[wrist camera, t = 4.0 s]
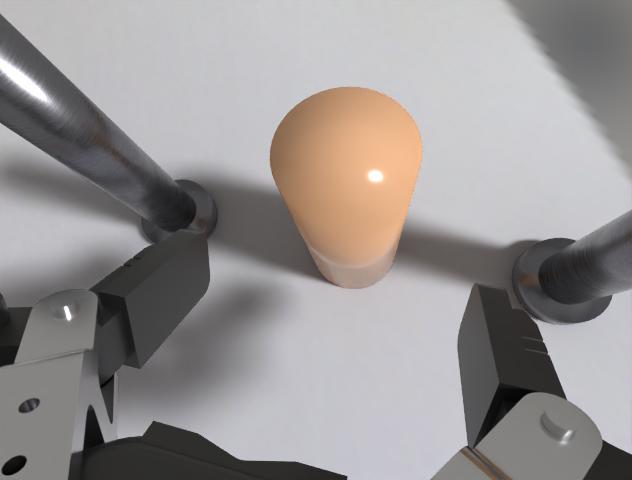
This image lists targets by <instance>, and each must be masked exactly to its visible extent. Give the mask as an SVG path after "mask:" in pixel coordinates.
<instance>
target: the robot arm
mask: <svg viewBox="0 0 632 480" xmlns="http://www.w3.org/2000/svg"><path fill="white" fill-rule="evenodd" d="M209 282H210V268H209V256H208V243H207V237H206V235H205V234H204V233H200V232H195V231H189V230H183V229H179V230H177V231H176V232H175V233H173V234H172V235H171V236H169V237H168V238H167V239H166V240H164V241H161V242H159V243H156V244H154V245H151V246H149V247H146V248H144V249H143V250H142V251H140V252H139V253H138V254H136V255H135V256H134V257H133V259H132V258H131V259H130V260H128V261H127V262H126V263H124V266H120V267H119V268H118V269H116V270H115V271H114V272H112V273H111V274H110V275H108V276H107V277H106V278H104V279H103V280H102V281H100V282H99V283H97V284H96V285H95V286H93V287H92V288H91V289H89V290H84V289H72V290H66V291H61V292H58V293H55V294H52V295H50V296H48V297H46V298H44V299H42V300H41V301H40V302H38V303H37V304H36V305H35V306H34V307H21V308H7V306H6V304H5V301H4V299H3V296H2V294H1V293H0V480H347V477H348V476H344V475H341V474H337V473H334V472H330V471H327V470H323V469H320V468H316V467H313V466H309V465H306V464H302V463H299V462H285V461H244V460H239V459H237V458H235V457H234V456H232V455H230V454H229V453H227V452H226V451H224V450H223V449H221V448H220V447H218V446H216V445H215V444H213V443H212V442H210V441H209V440H207V439H205V438H204V437H202V436H201V435H199V434H198V433H194V432H191V431H187V430H184V429H180V428H177V427H173V426H170V425H166V424H163V423H159V422H156V421H153V422H152V424H151V425H150V426H149V428H148V429H147V431H146V432H145V433H144V435H143V436H137V437H127V438H122V439H117V411H118V375H117V372H116V371H117V370H118V369H119V368H120V367H121V366H122V365H127V366H131V367H135V368H138V369H140V368H141V367H142V366H143V365H144V364H145V363H146V361H147V360H148V359H149V358H150V357H151V356H152V354H153V353H154V352H155V351H156V350H157V349H158V348H159V346H160V345H161V344H162V343H163V342H164V341H165V339H166V338H167V337H168V336H169V335H170V334H171V332H172V331H173V330H174V329H175V328H176V327H177V326H178V324H179V323H180V322H181V321H182V320H183V319H184V317H185V316H186V315H187V314H188V313H189V312H190V311H191V309H192V308H193V307H194V306H195V305H196V304H197V302H198V301H199V300H200V299H201V298H202V297H203V295H204V294H205V293H206V291H207V289H208V286H209ZM458 358H459V367H460V376H461V385H462V395H463V404H464V413H465V422H466V432H467V441H468V446H465V447H463V448H462V449H461V450H459V451H458V452H457V453H456V454H455V455H454V456H453V457H452V458H451V459H450V460H449V461H448V462H447V463H446V464H445V465H444V466H443V467H442V468H441V469H440V470H439V471H438V472H437V473H436V474H435V475H434V476H433V477H432V478H431V479H430V480H632V455H631V454H629V453H627V452H625V451H623V450H621V449H619V448H617V447H615V446H613V445H611V444H609V443H607V442H606V441H604V440H602V437H601V434H600V432H599V430H598V428H597V426H596V425H595V423H594V422H593V421H592V420H591V418H590V417H589V416H588V415H587V414H586V413H584V412H583V411H582V410H581V409H580V408H578V407H577V406H575V405H574V404H572V403H571V402H569V401H567V399H566V396H565V394H564V391H563V389H562V386H561V384H560V381H559V379H558V376H557V374H556V371H555V369H554V366H553V364H552V361H551V358H550V356H549V355H548V351H547V348H546V346H545V343H543V338H542V336H541V333H540V331H539V328H538V326H537V324H536V323H535V322H534V321H533V320H532V319H531V318H530V317H529V316H528V315H527V314H526V313H525V311H524V310H518V309H513V308H512V307H511V304H510V301H509V298H508V294H507V291H506V289H505V288H501V287H495V286H490V285H484V284H478V283H475V284H474V286H473V288H472V290H471V293H470V297H469V300H468V303H467V306H466V309H465V313H464V316H463V319H462V322H461V326H460V329H459V335H458Z"/></svg>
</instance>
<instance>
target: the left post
mask: <svg viewBox="0 0 632 480" xmlns="http://www.w3.org/2000/svg"><path fill="white" fill-rule="evenodd" d="M0 123H1V124H3V125H4V126H6V127H7V128H9V129H11V130H12V131H14V132H15V133H17V134H18V135H20V136H21V137H23V138H24V139H26V140H27V141H29V142H30V143H32V144H33V145H35V146H36V147H38V148H39V149H41V150H42V151H44V152H45V153H47V154H48V155H50V156H51V157H53V158H54V159H56V160H58V161H59V162H61V163H62V164H64V165H65V166H67V167H68V168H70V169H71V170H73V171H74V172H76V173H77V174H79V175H80V176H82V177H83V178H85V179H86V180H88V181H89V182H91V183H92V184H94V185H95V186H97V187H98V188H100V189H101V190H103V191H105V192H106V193H108V194H109V195H111V196H112V197H114V198H115V199H117V200H118V201H120V202H121V203H123V204H124V205H126V206H127V207H129V208H130V209H132V210H133V211H135V212H136V213H138V214H139V215H141V216H142V226H143V229H144V231H145V233H146V235H147V236H148V237H149V238H150V239H151V240H152V241H153V242H155V243H159V242H161V241H164V240H166V239H167V238H168V237H169V236H171V235H172V234H173V233H175V232H176V231H177V230H179V229H183V230H189V231H195V232H200V233H204V234H205V235H206V237H207V238H208V237H209V236H210V234H211V233H212V231H213V229H214V227H215V224H216V220H217V209H216V205H215V203H214V201H213V199H212V198H211V196H210V195H209V194H208V193H207V192H206V191H205V190H204V189H203V188H202V187H201V186H200V185H198V184H197V183H195V182H192V181H189V180H173V179H172V178H171V177H170V176H169V175H168V174H167V173H166V172H165V171H164V170H163V169H162V168H161V167H160V166H159V165H158V164H156V163H155V162H154V161H153V160H152V159H151V158H150V157H149V156H148V155H147V154H146V153H145V152H144V151H143V150H142V149H141V148H140V147H139V146H138V145H137V144H136V143H135V142H134V141H132V140H131V139H130V138H129V137H128V136H127V135H126V134H125V133H124V132H123V131H122V130H121V129H120V128H119V127H118V126H117V125H116V124H115V123H114V122H113V121H112V120H111V119H110V118H108V117H107V116H106V115H105V114H104V113H103V112H102V111H101V110H100V109H99V108H98V107H97V106H96V105H95V104H94V103H93V102H92V101H91V100H90V99H89V98H88V97H87V96H85V95H84V94H83V93H82V92H81V91H80V90H79V89H78V88H77V87H76V86H75V85H74V84H73V83H72V82H71V81H70V80H69V79H68V78H67V77H66V76H65V75H64V74H63V73H61V72H60V71H59V70H58V69H57V68H56V67H55V66H54V65H53V64H52V63H51V62H50V61H49V60H48V59H47V58H46V57H45V56H44V55H43V54H42V53H41V52H40V51H39V50H37V49H36V48H35V47H34V46H33V45H32V44H31V43H30V42H29V41H28V40H27V39H26V38H25V37H24V36H23V35H22V34H21V33H20V32H19V31H18V30H17V29H16V28H15V27H13V26H12V25H11V24H10V23H9V22H8V21H7V20H6V19H5V18H4V17H3V16H2V15H1V14H0Z"/></svg>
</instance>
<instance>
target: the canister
mask: <svg viewBox="0 0 632 480" xmlns="http://www.w3.org/2000/svg"><path fill="white" fill-rule="evenodd" d="M422 152H423V151H422V141H421V136H420V133H419V130H418V128H417V125H416V123H415V122H414V120H413V118H412V117H411V116H410V114H409V113H408V112H407V111H406V110H405V109H404V108H403V107H402V106H401V105H400V104H399V103H398V102H396V101H395V100H393V99H392V98H390V97H388V96H386V95H385V94H382V93H380V92H377V91H374V90H370V89H366V88H360V87H340V88H334V89H329V90H325V91H322V92H319V93H317V94H314V95H312V96H310V97H308V98H307V99H305V100H303V101H302V102H300V103H299V104H298V105H296V106H295V107H294V108H293V109H292V110H291V111H290V112H289V113H288V114H287V115H286V116H285V117H284V119H283V120H282V122H281V123H280V124H279V126H278V128H277V130H276V132H275V134H274V137H273V140H272V144H271V149H270V166H271V171H272V175H273V178H274V180H275V183H276V185H277V187H278V189H279V191H280V193H281V195H282V197H283V199H284V201H285V203H286V205H287V207H288V209H289V211H290V213H291V215H292V217H293V219H294V221H295V223H296V225H297V227H298V229H299V231H300V233H301V235H302V237H303V239H304V241H305V243H306V245H307V247H308V249H309V251H310V253H311V256H312V258H313V260H314V262H315V264H316V266H317V267H318V269H319V271H320V272H321V273H322V275H323V276H324V277H325V278H326V279H327V280H329V281H330V282H332V283H333V284H335V285H338V286H340V287H343V288H349V289H359V288H365V287H368V286H371V285H373V284H375V283H377V282H378V281H380V280H381V279H382V278H383V277H384V276H385V275H386V274H387V273H388V271H389V270H390V268H391V266H392V264H393V262H394V258H395V255H396V251H397V248H398V244H399V241H400V237H401V234H402V230H403V227H404V223H405V220H406V216H407V213H408V209H409V206H410V202H411V198H412V195H413V191H414V188H415V184H416V181H417V177H418V174H419V170H420V166H421V162H422Z"/></svg>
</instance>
